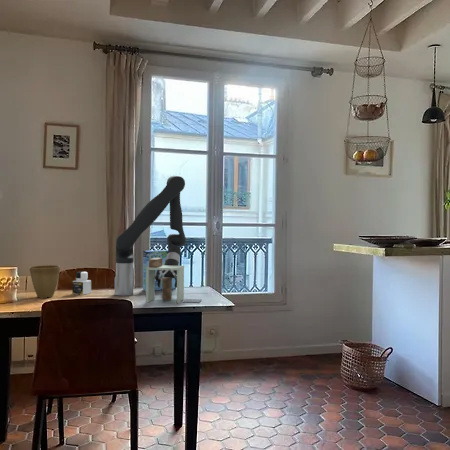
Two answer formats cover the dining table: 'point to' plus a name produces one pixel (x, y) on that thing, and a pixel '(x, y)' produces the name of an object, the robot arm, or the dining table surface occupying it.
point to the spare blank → (155, 262)
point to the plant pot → (45, 279)
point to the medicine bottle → (81, 284)
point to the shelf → (151, 281)
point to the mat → (192, 300)
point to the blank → (167, 288)
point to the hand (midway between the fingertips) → (167, 286)
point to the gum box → (150, 255)
